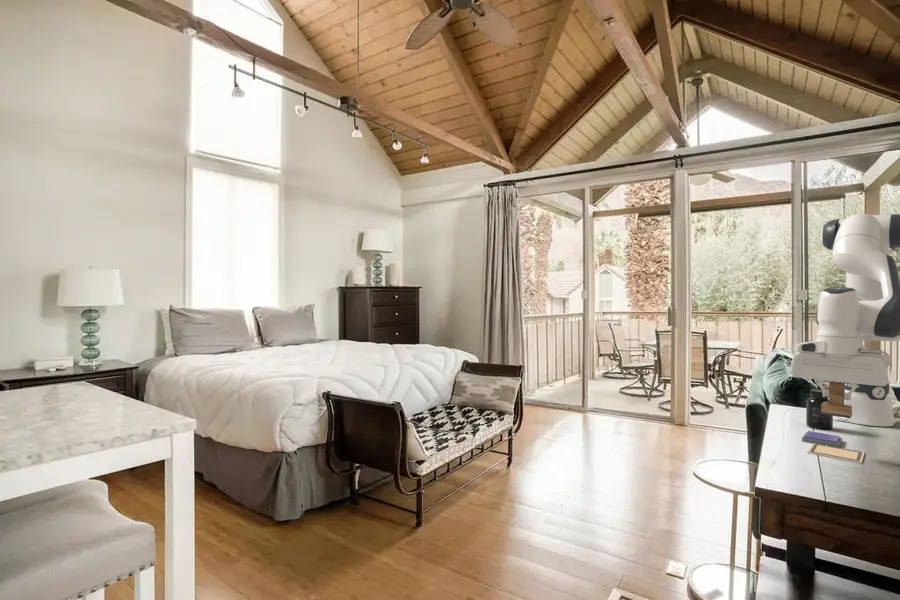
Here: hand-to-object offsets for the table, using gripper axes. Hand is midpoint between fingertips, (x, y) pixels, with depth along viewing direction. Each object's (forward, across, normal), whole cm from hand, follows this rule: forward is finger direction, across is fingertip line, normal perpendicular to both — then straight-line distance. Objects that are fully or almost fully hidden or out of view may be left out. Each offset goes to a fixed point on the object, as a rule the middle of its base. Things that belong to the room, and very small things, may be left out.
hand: (836, 398), depth 125 cm
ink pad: (+15, +4, -11) cm, 19 cm away
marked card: (+15, 0, 0) cm, 15 cm away
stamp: (+4, 0, 0) cm, 4 cm away
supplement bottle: (+15, +7, -30) cm, 34 cm away
